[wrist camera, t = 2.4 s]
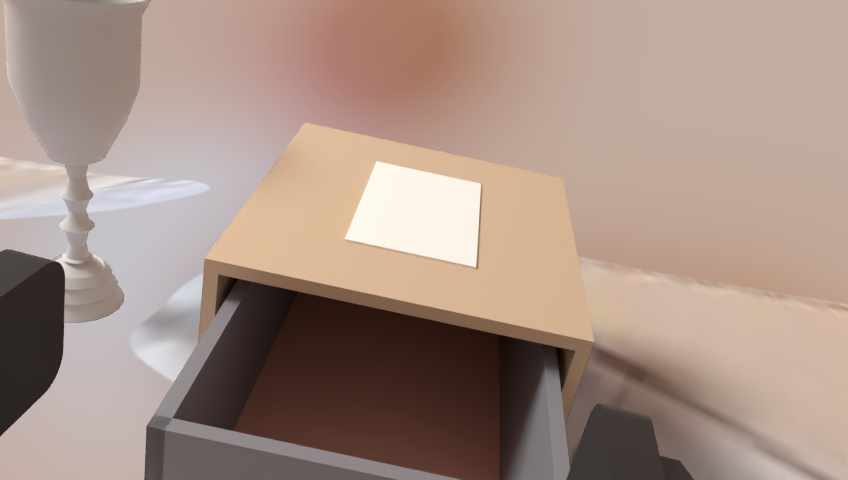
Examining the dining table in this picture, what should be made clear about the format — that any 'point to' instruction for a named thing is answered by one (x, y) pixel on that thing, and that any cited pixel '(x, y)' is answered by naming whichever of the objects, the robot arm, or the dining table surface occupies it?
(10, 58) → the chalice
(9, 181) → the dining table surface
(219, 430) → the tray
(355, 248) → the mailer sleeve
